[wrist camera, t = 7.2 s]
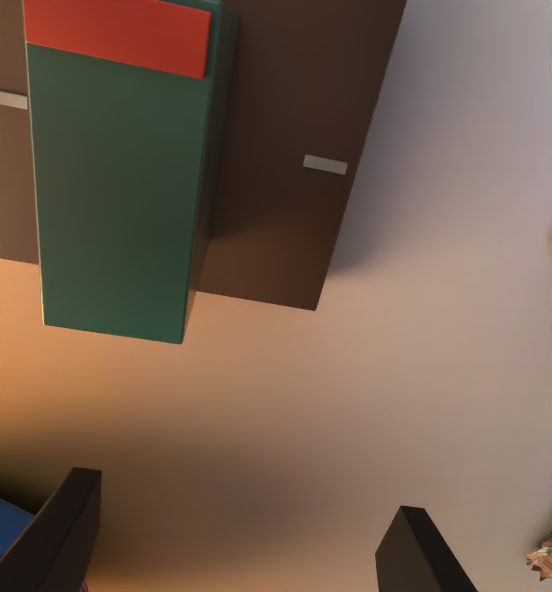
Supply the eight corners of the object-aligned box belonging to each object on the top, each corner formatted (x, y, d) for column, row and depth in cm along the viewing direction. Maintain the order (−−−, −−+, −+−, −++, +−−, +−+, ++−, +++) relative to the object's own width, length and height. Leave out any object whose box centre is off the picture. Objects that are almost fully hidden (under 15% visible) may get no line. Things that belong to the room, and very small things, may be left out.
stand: (395, -27, 14) (420, -38, 12) (309, 283, 20) (315, 316, 17) (-9, -133, 13) (-69, -169, 11) (19, 232, 18) (-17, 261, 16)
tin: (209, 244, 16) (181, 352, 11) (115, 228, 16) (37, 331, 10) (240, 13, 13) (221, -1, 7) (121, -14, 12) (8, -51, 7)
